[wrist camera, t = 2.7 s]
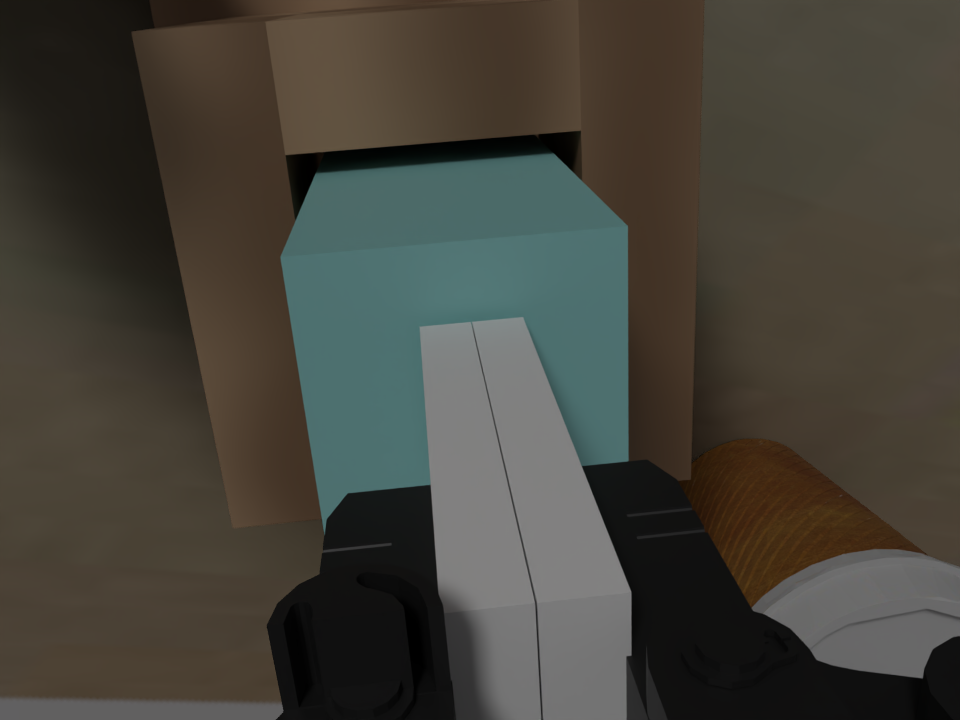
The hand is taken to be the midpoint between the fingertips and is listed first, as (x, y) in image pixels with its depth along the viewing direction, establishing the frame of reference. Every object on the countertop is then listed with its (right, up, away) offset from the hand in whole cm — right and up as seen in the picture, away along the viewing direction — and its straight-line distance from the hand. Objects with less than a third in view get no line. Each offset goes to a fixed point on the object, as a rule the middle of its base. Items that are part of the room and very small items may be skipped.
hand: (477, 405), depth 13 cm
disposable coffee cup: (+11, -5, +24) cm, 27 cm away
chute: (-2, +7, +18) cm, 19 cm away
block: (-1, +5, +11) cm, 12 cm away
